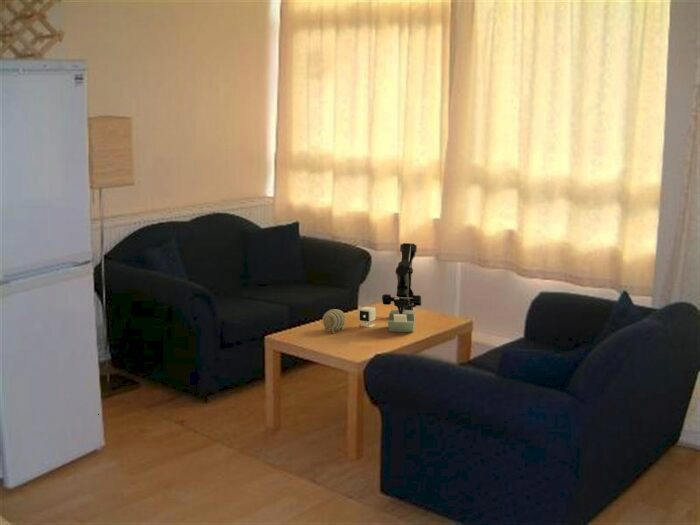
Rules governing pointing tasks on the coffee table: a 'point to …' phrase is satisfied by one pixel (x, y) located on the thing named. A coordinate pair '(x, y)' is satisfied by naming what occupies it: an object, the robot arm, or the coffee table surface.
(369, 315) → the security camera
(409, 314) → the green napkin box
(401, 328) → the green envelope with card
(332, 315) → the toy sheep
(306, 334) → the coffee table surface
